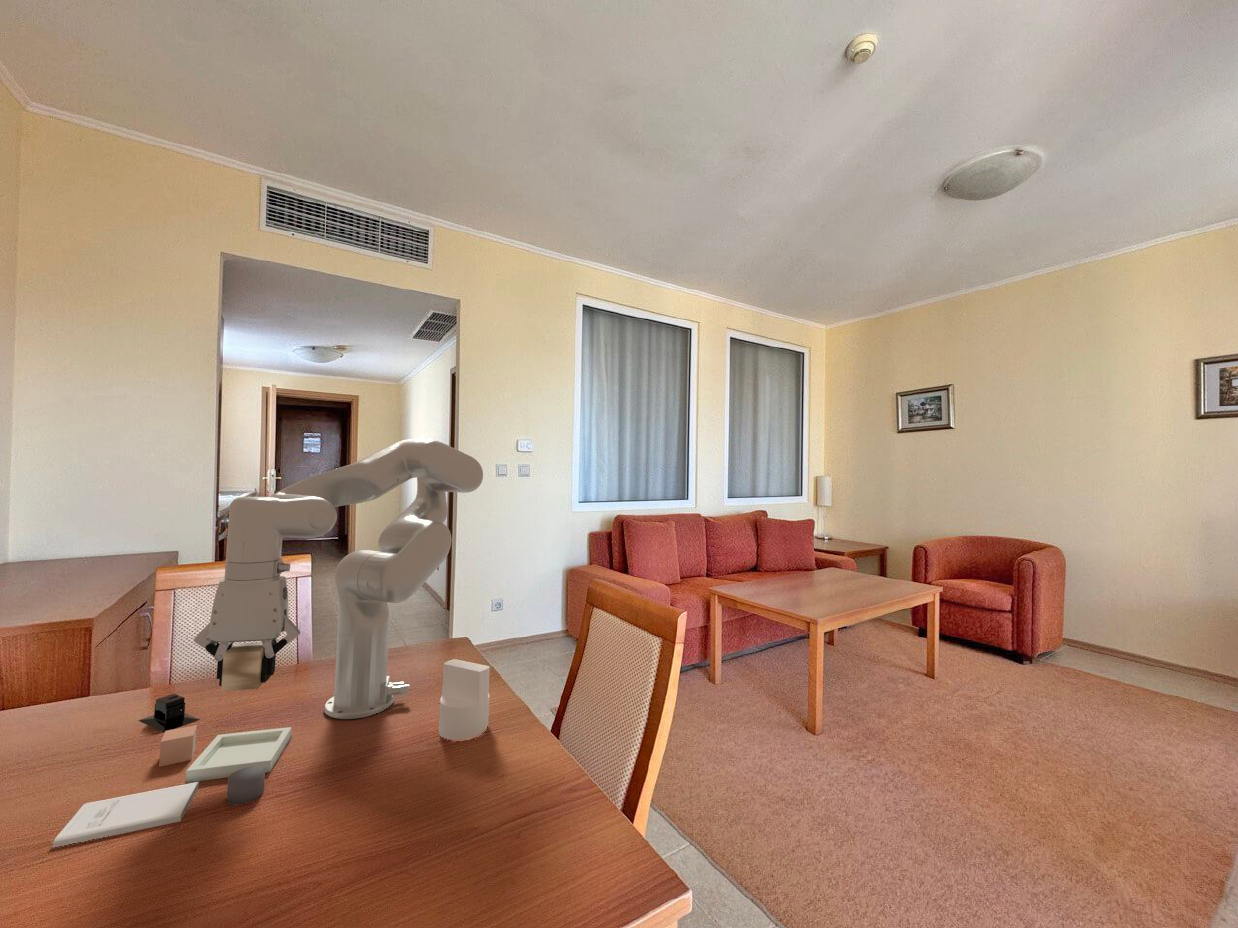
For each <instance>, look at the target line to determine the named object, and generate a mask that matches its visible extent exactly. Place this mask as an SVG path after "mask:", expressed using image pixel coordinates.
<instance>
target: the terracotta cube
mask: <svg viewBox="0 0 1238 928" xmlns="http://www.w3.org/2000/svg"><path fill="white" fill-rule="evenodd" d="M197 727H198V725H197V724H195V725H190V726H182V727H179V728H176V729H173V730H167V731H165V733H163V736H162V738H161V740H160V744H159V745H160V747H159V764H158V766H159V768H160V767H164V766H168V765H174V764H179V763H184V762H187V761H192V760H193V757H194V755H195V751H196V748H197V746H196V744H197V730H198V728H197Z"/></svg>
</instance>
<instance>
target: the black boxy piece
mask: <svg viewBox="0 0 1238 928" xmlns="http://www.w3.org/2000/svg"><path fill="white" fill-rule="evenodd" d="M153 709H154V710H153V715H149V716H147V717H144V718H141V719H138V721H137V722H141V723H142V724H144V725H147V726H149V727H151V728H152V729H155V730H157V731H160V732H161V733H163V734H164V733H165V731H167V730H173V729H178V728H183V727H186V726H187V725H190V724H193V723H195V722H198V721H201V719H200V718H198V717H195V716H194V715H193V716H192V715H190V714H188V713H185V712H186V702H185V697H184V696H181V695H178V694H176V693H172V694H169V695H165V696H163V697H159V698H156V699H155V703H154V708H153Z"/></svg>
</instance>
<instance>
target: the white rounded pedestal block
mask: <svg viewBox="0 0 1238 928" xmlns="http://www.w3.org/2000/svg"><path fill="white" fill-rule="evenodd" d="M490 667H491V666H489V665H485V664H480V663H476V662H470V661H466V660H460V659H456V658H452V659H451V660H447V661H446V662H444V663H443V668H442V669H443V670H442V673H443V674H442V688H441V689H442V691H441V692H442V693H441V697H440V699H439V717H438V718H439V719H438V721H439V722H438V735H439V734H440V735H439V736H441V738H442V737H444V738H447V739H452V740H460V739H467V738H470V737H475V736H477V735H479V734H481V733H482V732H483V731H484V730H485V729H486V728H487V726H488V727H489V716H490V714H489V713H490V712H489V711H490V692H489V691H490V671H491V670H490V669H491V668H490Z"/></svg>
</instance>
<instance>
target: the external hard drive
mask: <svg viewBox="0 0 1238 928" xmlns="http://www.w3.org/2000/svg"><path fill="white" fill-rule="evenodd" d="M199 782H200V781H195V782H188V783H184V784H181V785H179V784H178V785H174V786H170V787H163V788H159V789H153V790H149V791H144V792H138V793H133V794H127V795H123V796H116V797H113V798H107V799H103V800H102V799H101V800H97V801H91V802H90V801H89V802H86V803H83V804H82V806H81V807H80V808H79V809H78V810H77V812H76V813H74V815H73V816H72V818H70V820H69V821H68V822H67V824H65V826H64V827H63V828H62V830H61V831H60V832H59V833H58V834H57V835H56V836H55V838H54V839H53V841H52V849H55V848H54V847H58V846H61V845H62V847H65V846H64V845H67V846H69V845H68V844H72V843H76V844H80V843H79V842H81V843H85V841H86V842H89V841H88V840H90V841H93V840H92V839H95V840H99V838H100V839H104V838H103V837H105V838H108V836H109V837H113V835H114V836H117V835H119V836H120V835H123V834H127V833H132V832H137V831H141V830H147V829H150V828H155V827H159V826H160V827H161V826H165V825H169V824H173V823H178V822H182V819H183V817H184V815H185V814H186V812H187V811H188V808H189V807H190V804H191V802H192V800H193V799H194V797H195V794H196V792H197V791H198V789H199ZM96 838H97V839H96ZM77 842H78V843H77ZM72 845H73V844H72ZM58 848H59V847H58Z"/></svg>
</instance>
